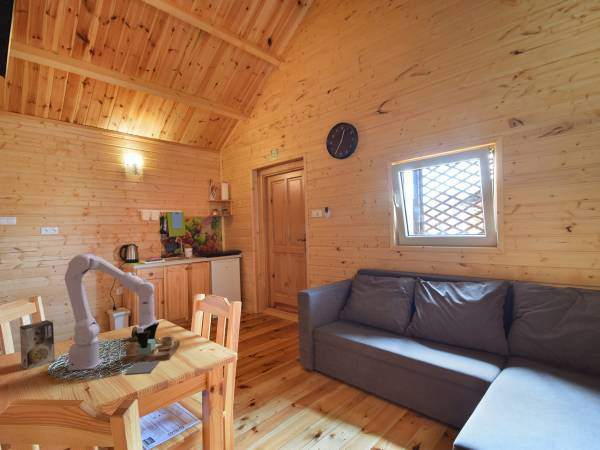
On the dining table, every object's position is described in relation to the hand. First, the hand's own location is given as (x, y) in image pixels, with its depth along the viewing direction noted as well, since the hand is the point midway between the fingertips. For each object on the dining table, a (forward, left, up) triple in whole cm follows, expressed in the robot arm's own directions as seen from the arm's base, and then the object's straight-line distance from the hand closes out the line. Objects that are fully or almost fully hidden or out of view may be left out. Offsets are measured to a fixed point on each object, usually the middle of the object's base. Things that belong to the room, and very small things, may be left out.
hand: (147, 344), depth 127 cm
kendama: (-11, +20, -6) cm, 24 cm away
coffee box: (-43, +1, -6) cm, 43 cm away
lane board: (0, +3, -5) cm, 6 cm away
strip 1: (-2, 0, -4) cm, 5 cm away
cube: (0, 0, -3) cm, 3 cm away
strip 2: (+2, +6, -4) cm, 8 cm away
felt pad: (+2, -10, -5) cm, 12 cm away
